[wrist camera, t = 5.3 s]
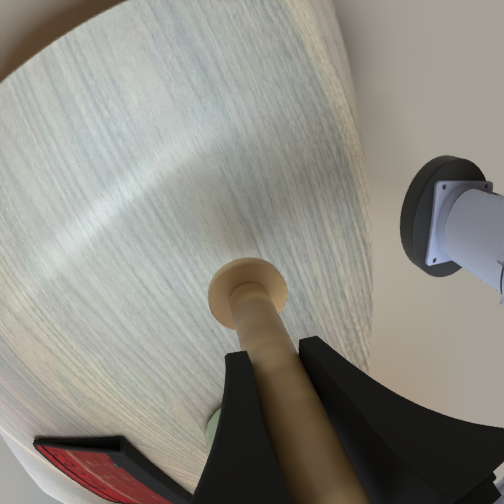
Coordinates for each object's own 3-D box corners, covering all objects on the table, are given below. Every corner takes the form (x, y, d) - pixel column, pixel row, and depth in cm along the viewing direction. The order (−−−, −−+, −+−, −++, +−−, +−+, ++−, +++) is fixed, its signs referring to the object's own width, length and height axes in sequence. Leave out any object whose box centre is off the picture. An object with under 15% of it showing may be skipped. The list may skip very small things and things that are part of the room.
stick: (283, 252, 13) (439, 474, 3) (283, 317, 15) (387, 519, 5) (202, 263, 13) (256, 545, 3) (212, 328, 14) (263, 559, 4)
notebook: (121, 452, 23) (195, 507, 32) (124, 435, 25) (194, 495, 34) (25, 445, 22) (110, 504, 31) (29, 432, 24) (111, 494, 33)
